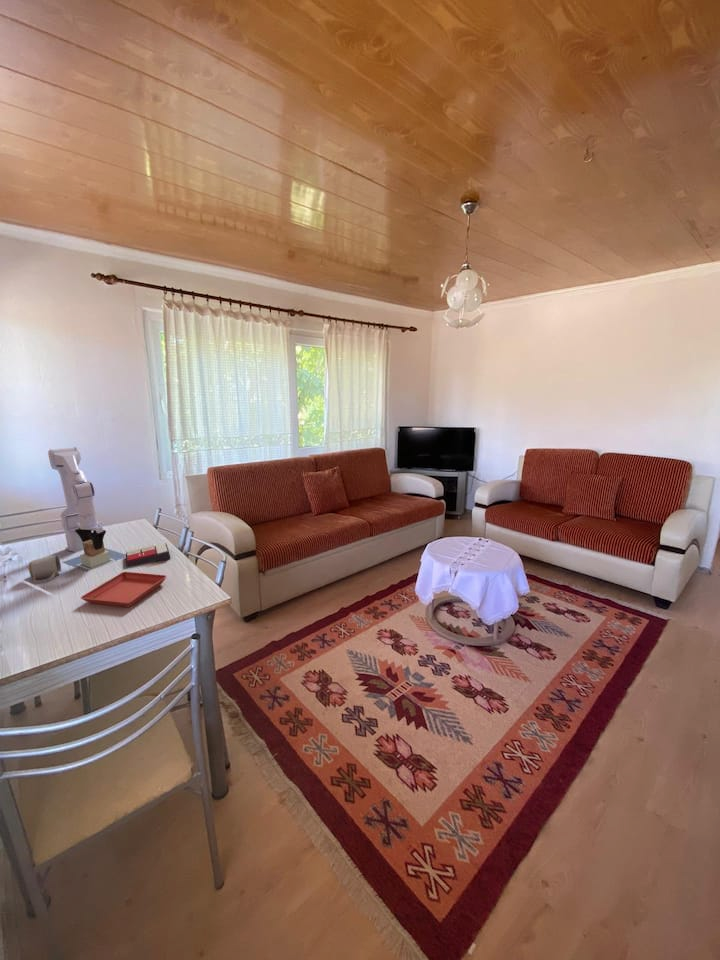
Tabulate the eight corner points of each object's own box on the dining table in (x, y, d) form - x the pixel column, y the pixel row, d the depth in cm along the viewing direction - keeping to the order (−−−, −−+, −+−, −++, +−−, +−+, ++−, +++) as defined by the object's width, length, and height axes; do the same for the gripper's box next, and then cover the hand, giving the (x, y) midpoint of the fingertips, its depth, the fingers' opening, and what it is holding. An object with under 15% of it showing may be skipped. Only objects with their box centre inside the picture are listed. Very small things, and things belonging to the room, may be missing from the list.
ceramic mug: (35, 575, 143) (30, 556, 141) (62, 570, 147) (58, 551, 145) (29, 587, 134) (24, 567, 133) (58, 581, 139) (54, 562, 137)
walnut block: (84, 554, 150) (82, 542, 149) (98, 549, 154) (96, 538, 153) (91, 556, 148) (89, 544, 147) (105, 552, 152) (102, 540, 151)
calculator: (125, 551, 156) (165, 541, 163) (127, 560, 157) (167, 550, 164) (125, 560, 147) (168, 549, 154) (128, 571, 148) (170, 559, 155)
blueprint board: (62, 563, 153) (62, 562, 153) (104, 549, 167) (104, 547, 166) (86, 573, 144) (86, 571, 144) (129, 556, 158) (128, 555, 158)
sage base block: (81, 564, 150) (79, 554, 150) (100, 557, 156) (98, 548, 156) (91, 568, 147) (89, 558, 146) (110, 561, 153) (108, 551, 152)
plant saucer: (129, 612, 119) (128, 602, 118) (80, 606, 122) (78, 597, 121) (169, 583, 136) (167, 575, 135) (124, 579, 140) (123, 571, 139)
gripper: (108, 513, 147) (114, 546, 150) (88, 508, 154) (94, 540, 157) (88, 518, 141) (95, 553, 144) (68, 513, 148) (74, 546, 151)
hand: (93, 547), depth 150 cm, fingers open, 7 cm apart
